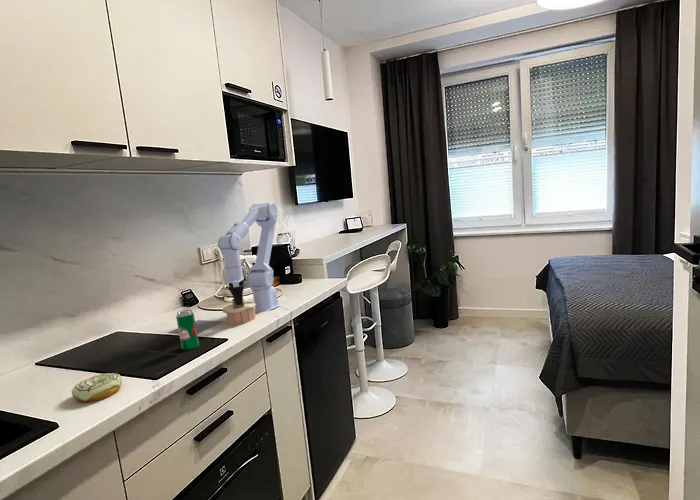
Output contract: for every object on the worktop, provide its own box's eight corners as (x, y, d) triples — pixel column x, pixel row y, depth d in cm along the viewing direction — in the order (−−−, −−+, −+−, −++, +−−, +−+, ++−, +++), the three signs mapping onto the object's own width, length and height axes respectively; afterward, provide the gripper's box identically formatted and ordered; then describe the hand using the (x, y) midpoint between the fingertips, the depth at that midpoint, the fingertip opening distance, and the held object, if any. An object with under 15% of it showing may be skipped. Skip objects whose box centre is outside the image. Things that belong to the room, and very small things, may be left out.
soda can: (178, 350, 125) (171, 313, 123) (191, 344, 129) (185, 308, 127) (189, 352, 122) (183, 314, 121) (202, 345, 127) (196, 309, 125)
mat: (198, 321, 157) (198, 319, 157) (224, 322, 150) (224, 321, 150) (167, 333, 145) (167, 332, 144) (194, 336, 138) (194, 334, 138)
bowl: (241, 316, 156) (239, 303, 156) (261, 317, 152) (259, 304, 151) (222, 324, 148) (220, 311, 147) (242, 326, 143) (240, 312, 142)
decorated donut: (83, 409, 93) (79, 394, 92) (68, 398, 100) (64, 384, 99) (130, 389, 101) (127, 375, 100) (113, 380, 107) (110, 367, 107)
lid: (239, 303, 157) (237, 294, 157) (262, 303, 151) (260, 294, 151) (215, 312, 147) (213, 302, 146) (239, 313, 141) (237, 303, 140)
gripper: (222, 265, 153) (228, 300, 154) (221, 271, 139) (227, 309, 141) (241, 262, 155) (246, 297, 156) (242, 268, 141) (248, 305, 143)
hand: (239, 302), depth 149 cm, fingers open, 7 cm apart
